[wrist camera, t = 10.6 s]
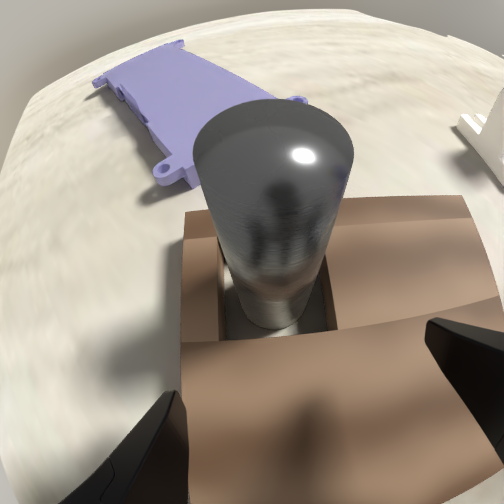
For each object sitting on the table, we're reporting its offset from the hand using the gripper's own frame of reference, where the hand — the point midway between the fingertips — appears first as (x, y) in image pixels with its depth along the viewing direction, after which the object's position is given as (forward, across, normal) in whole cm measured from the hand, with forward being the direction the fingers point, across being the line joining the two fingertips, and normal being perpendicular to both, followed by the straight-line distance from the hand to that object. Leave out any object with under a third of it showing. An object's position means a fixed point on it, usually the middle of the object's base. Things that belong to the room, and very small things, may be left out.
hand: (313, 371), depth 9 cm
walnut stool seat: (+5, -4, +5) cm, 8 cm away
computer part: (+26, +4, -16) cm, 31 cm away
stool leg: (+9, 0, +1) cm, 9 cm away
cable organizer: (+15, -29, -5) cm, 33 cm away
